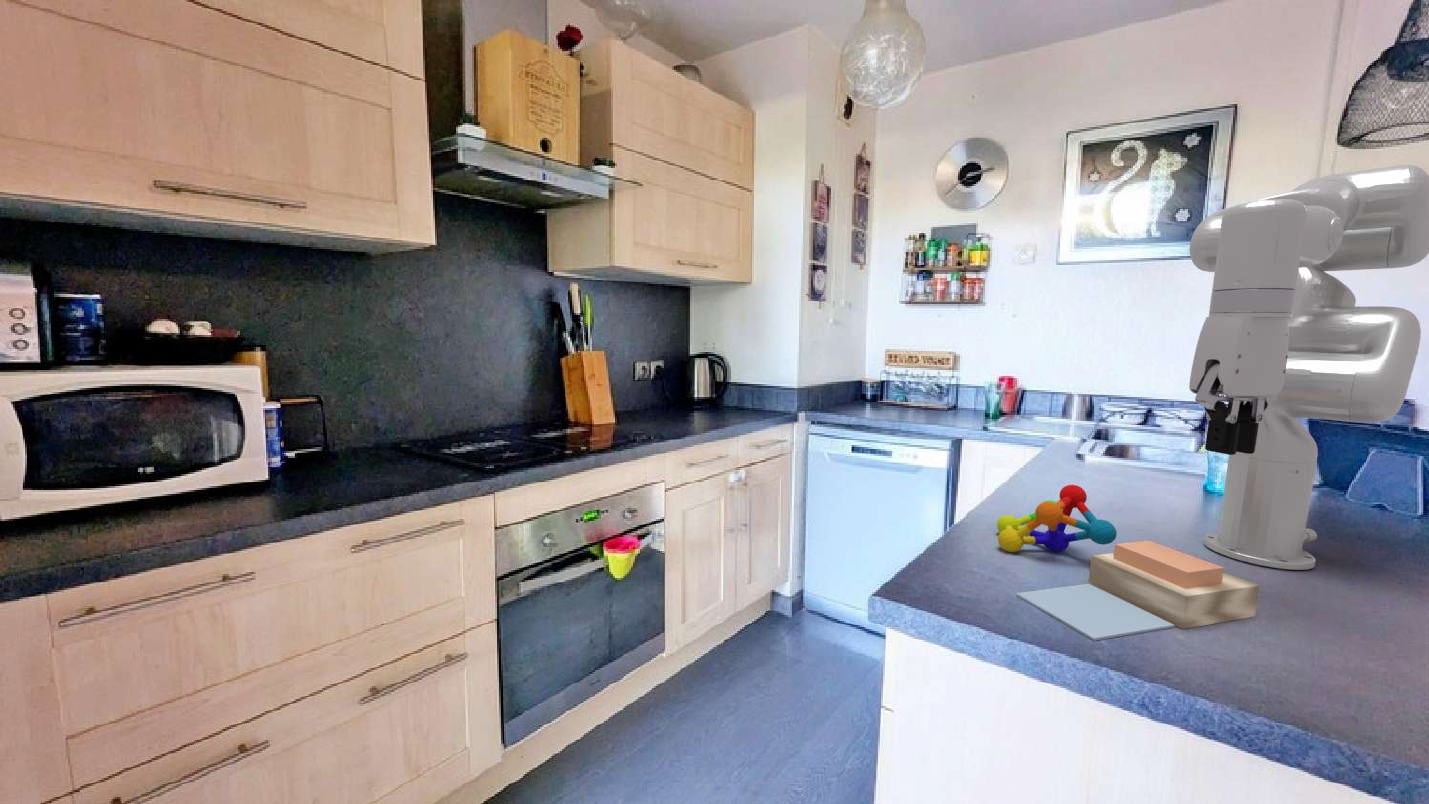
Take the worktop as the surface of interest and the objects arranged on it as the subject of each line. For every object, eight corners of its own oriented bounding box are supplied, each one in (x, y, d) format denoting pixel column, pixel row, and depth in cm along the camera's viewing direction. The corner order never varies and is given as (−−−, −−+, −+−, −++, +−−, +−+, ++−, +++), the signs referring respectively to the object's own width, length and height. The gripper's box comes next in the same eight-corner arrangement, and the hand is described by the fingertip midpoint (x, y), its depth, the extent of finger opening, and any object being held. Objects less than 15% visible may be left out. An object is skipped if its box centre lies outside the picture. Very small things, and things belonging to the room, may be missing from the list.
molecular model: (1020, 585, 84) (1129, 552, 80) (994, 526, 84) (1102, 490, 80) (994, 547, 98) (1085, 518, 95) (972, 497, 98) (1062, 466, 94)
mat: (1088, 585, 76) (1088, 583, 76) (1174, 627, 66) (1174, 624, 66) (1016, 595, 73) (1016, 593, 73) (1093, 640, 63) (1094, 638, 63)
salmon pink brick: (1147, 554, 77) (1149, 540, 77) (1221, 583, 69) (1223, 567, 68) (1113, 558, 76) (1115, 544, 75) (1185, 588, 67) (1187, 572, 67)
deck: (1154, 574, 80) (1158, 547, 80) (1254, 616, 69) (1259, 585, 68) (1088, 583, 77) (1091, 555, 76) (1181, 629, 66) (1186, 596, 65)
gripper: (1259, 308, 76) (1239, 444, 78) (1169, 305, 71) (1152, 448, 74) (1333, 307, 69) (1309, 456, 71) (1238, 303, 64) (1216, 461, 67)
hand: (1229, 450), depth 72 cm, fingers open, 2 cm apart
